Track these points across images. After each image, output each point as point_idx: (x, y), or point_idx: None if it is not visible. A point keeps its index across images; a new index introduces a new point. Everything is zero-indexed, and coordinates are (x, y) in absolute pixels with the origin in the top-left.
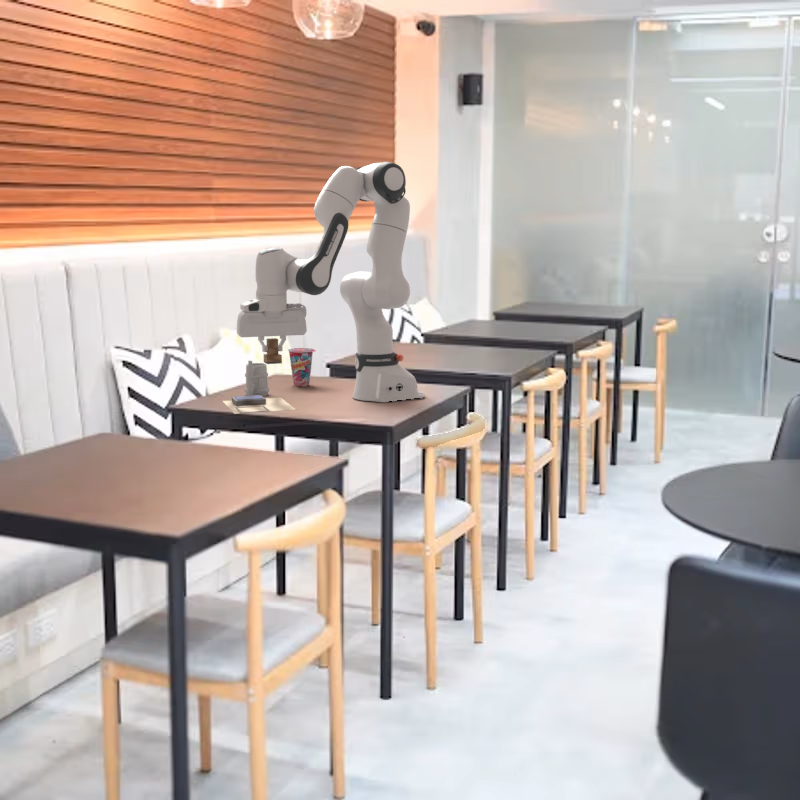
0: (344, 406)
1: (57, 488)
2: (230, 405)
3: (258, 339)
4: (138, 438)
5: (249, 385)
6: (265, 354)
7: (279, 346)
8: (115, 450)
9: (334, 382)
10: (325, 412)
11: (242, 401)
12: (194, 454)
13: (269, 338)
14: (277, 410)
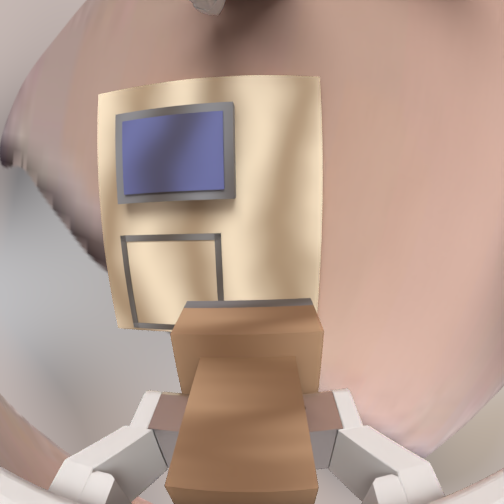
0: (467, 265)
1: None
2: (109, 187)
3: (71, 474)
4: (9, 406)
5: (200, 6)
6: (185, 372)
7: (318, 460)
8: (14, 441)
9: None
10: (393, 336)
11: (141, 202)
12: None
13: (210, 493)
14: None
